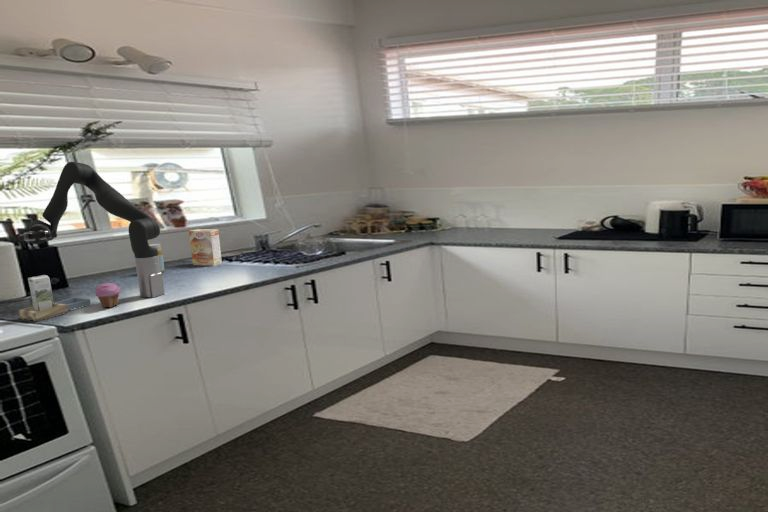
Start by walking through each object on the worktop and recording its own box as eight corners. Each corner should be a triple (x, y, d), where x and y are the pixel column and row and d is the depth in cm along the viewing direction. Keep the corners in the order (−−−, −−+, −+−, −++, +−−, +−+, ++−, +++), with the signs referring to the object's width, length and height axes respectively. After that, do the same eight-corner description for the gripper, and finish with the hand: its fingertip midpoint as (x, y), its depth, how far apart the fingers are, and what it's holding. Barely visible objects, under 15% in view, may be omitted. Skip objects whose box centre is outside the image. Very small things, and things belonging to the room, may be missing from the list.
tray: (67, 313, 204) (66, 304, 203) (36, 321, 194) (35, 312, 193) (50, 310, 209) (49, 301, 209) (19, 318, 199) (18, 309, 199)
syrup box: (50, 310, 206) (44, 274, 203) (55, 312, 202) (49, 276, 199) (33, 313, 202) (27, 277, 199) (38, 316, 198) (32, 279, 195)
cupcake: (112, 310, 206) (108, 285, 204) (92, 309, 207) (88, 285, 205) (126, 303, 214) (123, 280, 212) (108, 303, 216) (104, 280, 214)
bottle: (150, 274, 271) (146, 246, 268) (150, 272, 278) (146, 244, 275) (164, 273, 274) (161, 244, 271) (164, 270, 280) (161, 243, 277)
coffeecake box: (192, 265, 292) (188, 230, 289) (201, 262, 299) (197, 228, 295) (213, 266, 287) (210, 230, 283) (222, 263, 293) (218, 229, 289)
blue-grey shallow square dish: (90, 304, 215) (89, 299, 215) (66, 311, 206) (65, 305, 206) (76, 302, 220) (75, 297, 219) (51, 309, 211) (50, 303, 211)
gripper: (17, 226, 216) (10, 230, 202) (57, 223, 223) (53, 226, 209) (20, 244, 218) (14, 249, 203) (60, 240, 224) (57, 244, 210)
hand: (34, 237), depth 206 cm, fingers open, 8 cm apart
